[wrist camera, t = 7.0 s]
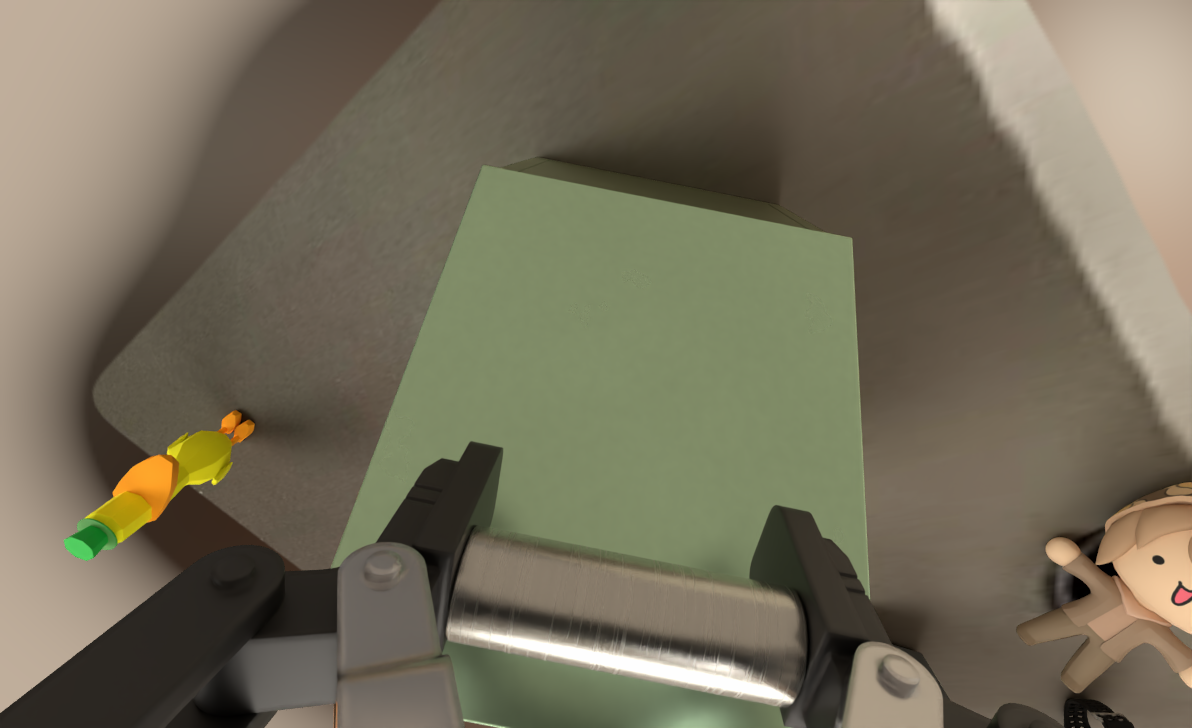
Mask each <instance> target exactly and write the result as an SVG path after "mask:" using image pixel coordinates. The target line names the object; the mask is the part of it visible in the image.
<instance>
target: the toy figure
mask: <svg viewBox="0 0 1192 728" xmlns="http://www.w3.org/2000/svg"><path fill="white" fill-rule="evenodd" d="M241 416H242V414H241V413H240V412H238V411H237V410H235V411H233V412H231V413H230V414H229V415H227V416H226V417H224V418H223V420H222V428H221V429H220V430H218V431H217V432H215V431H199V432H197V433H195V434H193V435H191V436H189V437H188V433H186V434H185V435H183V436H181V437H180V438H179V439H177V440H176V441H175V442H174V443H172V444H171V445H170V446H169V447H168V451H167V454H168V455H157V456H152V457H150V458H148V459H146V460H144V461H142V462H141V463H139V464H137V465H136V466H134V467H133V468H132V469H130V471H129V472H128V473H127V474H126V475H125V476H124V477H123V478H122V480H121V481H120V482H119V484H118V485H117V487H116V488H115V490H114V492H113V495H114V498H113V499H111V500H109V501H108V502H107V503H105V504H104V505H102V506H101V507H100V508H98V509H97V510H95V511H94V512H93V513H91V514H89V515H88V516H87V517H85V519H82V520H80V521H79V522H78V524H77V529H78V531H79V532H77V533H75V534H73V535H72V536H70V537H68V538H67V539H65V540H64V543H65V547H66V549H67V550H68V551H69V552H71V553H72V554H73V555H74V556H75V557H77V558H80V559H83V560H86V561H87V560H90V559H92V558H94V557H95V556H96V555H97V554H98V552H99V551H100V550H101V549H104V550H111V549H113V548H115V547H116V546H117V543H120V542H122V541H124V540H125V539H126V538H128V537H129V536H130V535H131V534H133V533H134V532H135V531H136V530H138V529H139V528H140V527H141V526H143V525H144V524H145V523H147V522H150V521H154V520H156V519H157V518H158V517H159V516H160V514H161V513H162V512H163V511H164V509H165V508H166V506H167V505H168V503H169V501H170V500H171V499H172V498H173V497H174V496H175V495H176V494H177V493H178V492H179V491H180V490H181V489H182V488H183V487H184V486H185V485H188V484H202V483H204V482H206V481H208V480H210V479H213V480H212V484H213V485H216V484H217V483H218V482H219V481H220V480H222V479H223V478H224V476H225V475H226V474H227V472H228V471H229V470H230V468H231V465H232V462H231V463H230V456H231V447H232V446H233V445H234V444H235V443H237V442H241V441H242V440H244V439H245V438H246V437H248V436H249V435H250V434H251V433H252V432H253V430H254V425H255V423H253V422H252V421H251V420H247V421H245V422H243V423H242V424H240V422H241ZM239 424H240V425H239ZM238 425H239V426H238ZM235 428H236V429H235ZM234 429H235V431H234V437H233V438H232V439H231V440H230V439H229V438H228V437H227V435H226V434H225V433H227V434H230V433H231V432H232V431H233V430H234Z"/></svg>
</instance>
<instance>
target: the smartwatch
mask: <svg viewBox="0 0 1192 728" xmlns="http://www.w3.org/2000/svg"><path fill="white" fill-rule="evenodd" d="M1070 707H1071V708H1070ZM1078 707H1083V708H1078ZM1087 710H1088V711H1090V712H1091V714H1092V715H1093V716H1094V717H1095V718H1096V719H1098V720H1099V721H1100V722H1102V724H1103V726H1104V728H1134V726H1133V724H1132V723H1131V722H1129V720H1128V719H1127V718H1126V717H1125V716H1124V715H1122V714H1120V713H1114V712H1113V711H1112V710H1111V709H1110V708H1109V707H1108V706H1106V705H1105V704H1103V703H1101V702H1099V701H1096V700H1084V699H1071V700H1068V701H1067V702H1066V704H1065V709H1064V727H1065V728H1072V727H1074V726H1075V728H1080V727H1084V728H1091V727H1090V725H1089V722H1088V718H1087ZM1069 711H1073V712H1069ZM1078 711H1082V713H1081V712H1078ZM1078 715H1079V716H1082V718H1081V717H1078ZM1118 715H1119V716H1118ZM1069 716H1073V717H1069ZM1100 717H1101V718H1103V719H1101V718H1100ZM1122 719H1123V720H1122ZM1071 721H1074V722H1072V723H1070V722H1071ZM1079 721H1082V722H1083V723H1079Z"/></svg>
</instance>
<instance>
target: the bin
mask: <svg viewBox="0 0 1192 728" xmlns="http://www.w3.org/2000/svg"><path fill="white" fill-rule="evenodd" d="M500 168H503V169H508V170H513V171H518V172H523V173H528V174H533V175H539V176H544V177H549V178H554V179H559V180H564V181H569V182H574V183H579V184H584V185H589V186H594V187H599V188H604V189H609V190H614V191H619V192H624V193H629V194H634V195H639V196H644V197H649V198H654V199H659V200H664V201H669V202H674V203H679V204H684V205H689V206H694V207H700V208H705V209H710V210H715V211H720V212H725V213H730V214H735V215H740V216H745V217H750V218H755V219H760V220H765V221H770V222H775V223H780V224H785V225H790V226H795V227H800V228H805V229H810V230H815V231H820V232H824V231H823V230H821V229H819V228H818V227H816V226H814V225H812V224H811V223H809V222H807V221H806V220H804V219H802V218H800V217H799V216H797V215H795V214H794V213H792V212H790V211H788V210H787V209H785V208H783V207H781V206H780V205H777V204H772V203H767V202H762V201H757V200H752V199H747V198H742V197H737V196H732V195H727V194H722V193H717V192H712V191H707V190H702V189H696V188H691V187H686V186H681V185H676V184H671V183H666V182H661V181H656V180H651V179H646V178H641V177H636V176H631V175H626V174H621V173H616V172H611V171H606V170H601V169H596V168H591V167H586V166H581V165H576V164H571V163H566V162H561V161H556V160H551V159H546V158H540V157H535V158H531V159H528V160H524V161H521V162H518V163H514V164H511V165H507V166H504V167H500ZM825 233H826V232H825Z"/></svg>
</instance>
